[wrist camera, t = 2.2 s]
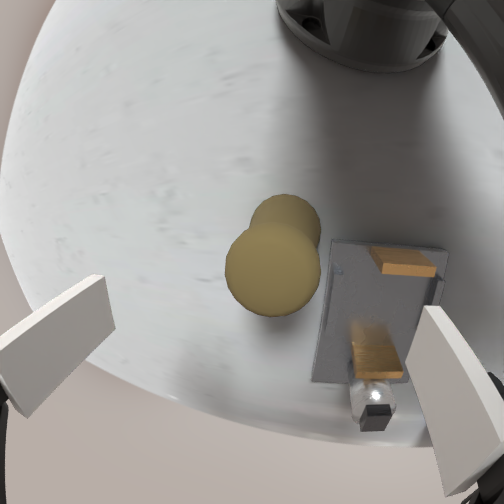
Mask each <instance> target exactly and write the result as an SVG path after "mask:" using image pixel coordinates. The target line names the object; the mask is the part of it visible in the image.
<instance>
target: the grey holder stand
mask: <svg viewBox="0 0 504 504" xmlns="http://www.w3.org/2000/svg"><path fill="white" fill-rule="evenodd" d="M448 257H449V253H448V252H447V251H446V250H444V249H438V248H428V247H418V246H407V245H397V244H386V243H374V242H363V241H351V240H339V239H332V241H331V251H330V260H329V269H328V277H327V285H326V292H325V299H324V306H323V313H322V320H321V326H320V332H319V338H318V344H317V350H316V355H315V360H314V366H313V371H312V381H314V382H332V383H349V389H350V399H351V409H352V418H353V420H354V421H355V422H356V423H357V424H360V431H361V432H367V431H384V430H385V428H386V426H387V424H388V423H389V421H390V419H391V417H392V415H393V414H394V412H395V410H396V403H395V400H394V396H393V392H392V388H391V384H390V383H407V382H408V380H409V378H410V374H409V372H408V369H407V366H406V364H405V361H406V358H407V356H408V353H409V350H410V347H411V345H412V342H413V339H414V336H415V333H416V330H417V327H418V324H419V320H420V317H421V314H422V310H423V307H424V306H439V303H440V300H441V296H442V293H443V289H444V285H445V281H444V280H443V278H444V274H445V270H446V266H447V261H448Z"/></svg>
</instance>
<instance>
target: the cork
mask: <svg viewBox="0 0 504 504" xmlns="http://www.w3.org/2000/svg"><path fill="white" fill-rule="evenodd" d="M320 233H321V226H320V220H319V217H318V215H317V213H316V211H315V209H314V208H313V207H312V206H311V205H310V204H309V203H308V202H307V201H305V200H303V199H301V198H299V197H297V196H294V195H287V194H282V195H276V196H272V197H270V198H269V199H267V200H265V201H263V202H262V203H261V204H260V205H259V206H258V207H257V209H256V210H255V212H254V214H253V217H252V219H251V222H250V226H249V229H247V230H245V231H244V232H243V233H242V234H241V235H240V236H239V237H238V238H237V239H236V240H235V241H234V242H233V244H232V245H231V247H230V250H229V252H228V254H227V256H226V266H225V277H226V281H227V285H228V288H229V290H230V292H231V293H232V295H233V296H234V298H235V299H236V300H237V301H238V302H239V303H240V304H241V305H242V306H243V307H245V308H246V309H247V310H249V311H251V312H253V313H255V314H258V315H262V316H268V317H278V316H286V315H289V314H291V313H294V312H296V311H298V310H300V309H301V308H302V307H303V306H305V305H306V304H307V303H308V302H309V301H310V299H311V298H312V296H313V295H314V293H315V291H316V290H317V288H318V285H319V280H320V276H321V268H320V260H319V254H318V252H317V250H316V248H317V245H318V242H319V238H320Z"/></svg>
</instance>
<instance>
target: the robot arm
mask: <svg viewBox="0 0 504 504" xmlns="http://www.w3.org/2000/svg"><path fill="white" fill-rule="evenodd" d="M276 3H277V7H278V10H279V13H280V15H281V17H282V19H283V21H284V22H285V24H286V25H287V27H288V28H289V29H290V30H291V31H292V33H293V34H294V35H295V36H296V37H297V38H298V39H299V40H301V41H302V42H303V43H304V44H305V45H307V46H308V47H309V48H311V49H312V50H314V51H315V52H317V53H319V54H320V55H322V56H324V57H326V58H328V59H330V60H332V61H334V62H337V63H339V64H342V65H345V66H348V67H351V68H354V69H358V70H363V71H368V72H376V73H395V72H402V71H406V70H410V69H412V68H415V67H417V66H419V65H421V64H422V63H424V62H425V61H426V60H428V59H429V58H430V57H432V56H433V55H434V54H435V53H436V52H437V51H438V50H439V49H440V48H441V46H442V45H443V43H444V41H445V39H446V37H447V34H448V30H449V31H450V32H451V33H452V35H453V36H454V37H455V39H456V40H457V41H458V43H459V44H460V45H461V47H462V48H463V50H464V51H465V53H466V54H467V56H468V57H469V59H470V60H471V62H472V63H473V65H474V66H475V68H476V69H477V71H478V73H479V74H480V76H481V78H482V79H483V81H484V83H485V85H486V86H487V88H488V90H489V92H490V94H491V95H492V97H493V99H494V101H495V103H496V105H497V107H498V109H499V111H500V113H501V115H502V117H503V120H504V0H276ZM115 329H116V328H115V324H114V320H113V315H112V311H111V306H110V302H109V297H108V291H107V286H106V281H105V276H101V275H95V274H92V275H90V276H88V277H87V278H85V279H84V280H82V281H81V282H79V283H77V284H76V285H74V286H73V287H71V288H70V289H68V290H66V291H65V292H63V293H62V294H60V295H59V296H57V297H56V298H54V299H53V300H51V301H50V302H48V303H47V304H45V305H44V306H42V307H41V308H39V309H38V310H36V311H35V312H33V313H32V314H30V315H29V316H28V317H26V318H25V319H23V320H22V321H20V322H19V323H18V324H17V325H15V326H14V327H12V328H11V329H9V330H8V331H6V332H5V333H4V334H3V335H1V336H0V504H6V491H5V444H6V429H7V419H8V405H7V403H6V401H7V400H8V399H10V401H11V403H12V404H13V406H14V408H15V409H16V410H17V411H18V412H19V413H21V414H22V415H23V416H25V417H26V418H27V419H28V418H29V417H30V416H31V414H32V413H33V412H34V411H35V410H36V409H37V408H38V407H39V406H40V405H41V404H42V403H43V402H44V401H45V400H46V398H47V397H48V396H49V395H50V394H51V393H52V392H53V391H54V390H55V389H56V388H57V387H58V386H59V385H60V384H61V383H62V382H63V381H64V380H65V379H66V378H67V377H68V375H70V374H71V372H73V370H74V369H76V368H77V367H78V366H79V365H80V364H81V363H82V362H83V361H84V360H85V359H86V358H87V357H88V356H89V355H90V354H91V353H92V352H93V351H94V350H95V349H96V348H97V347H98V346H99V345H100V344H101V343H102V342H103V341H104V340H105V339H106V338H107V337H108V336H109V335H110V334H111V333H112V332H113V331H114V330H115ZM405 364H406V366H407V369H408V372H409V374H410V377H411V380H412V383H413V385H414V388H415V391H416V394H417V397H418V400H419V403H420V406H421V409H422V412H423V415H424V418H425V421H426V424H427V428H428V431H429V434H430V438H431V441H432V445H433V448H434V452H435V456H436V460H437V463H438V468H439V472H440V476H441V480H442V485H443V489H444V495H445V497H448V496H452V495H455V494H458V493H461V492H464V491H466V490H467V489H468V488H470V486H472V485H473V484H474V483H475V482H476V481H477V483H478V487H479V488H478V489H477V490H475V491H474V492H473V493H472V494H471V495H469V496H468V497H467V498H466V499H464V500H463V501H462V503H461V504H466V503H467V502H468V501H470V502H469V504H504V386H503V384H502V382H501V381H500V380H499V379H498V378H497V377H496V376H494V375H493V374H492V373H491V372H488V373H487V372H486V371H485V369H484V367H483V366H482V364H481V363H480V361H479V360H478V358H477V357H476V355H475V354H474V352H473V351H472V349H471V348H470V346H469V345H468V343H467V342H466V341H465V339H464V338H463V336H462V335H461V334H460V332H459V331H458V329H457V328H456V327H455V325H454V324H453V323H452V321H451V320H450V318H449V317H448V316H447V314H446V313H445V312H444V311H443V309H442V308H441V307H440V306H424V307H423V310H422V314H421V317H420V320H419V324H418V327H417V330H416V333H415V336H414V339H413V342H412V345H411V347H410V350H409V353H408V356H407V358H406V361H405Z"/></svg>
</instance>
